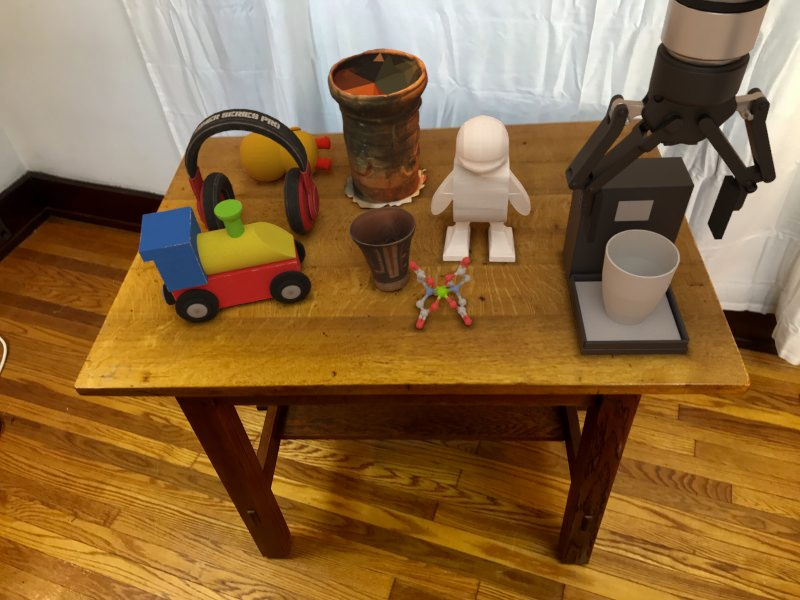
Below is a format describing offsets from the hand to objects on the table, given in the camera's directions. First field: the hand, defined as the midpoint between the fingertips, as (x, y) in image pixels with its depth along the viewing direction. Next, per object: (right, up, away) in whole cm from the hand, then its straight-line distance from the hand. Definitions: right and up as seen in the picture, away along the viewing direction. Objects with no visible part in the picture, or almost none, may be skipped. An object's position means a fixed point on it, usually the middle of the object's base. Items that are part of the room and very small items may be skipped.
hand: (650, 233), depth 69 cm
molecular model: (-22, -9, +14) cm, 28 cm away
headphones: (-49, +4, +28) cm, 56 cm away
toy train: (-50, -7, +19) cm, 54 cm away
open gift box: (+1, -7, +13) cm, 15 cm away
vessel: (-30, +11, +33) cm, 46 cm away
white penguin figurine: (-16, +1, +23) cm, 28 cm away
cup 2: (+1, -9, +10) cm, 13 cm away
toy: (-47, +14, +37) cm, 61 cm away
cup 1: (-30, -4, +19) cm, 35 cm away
